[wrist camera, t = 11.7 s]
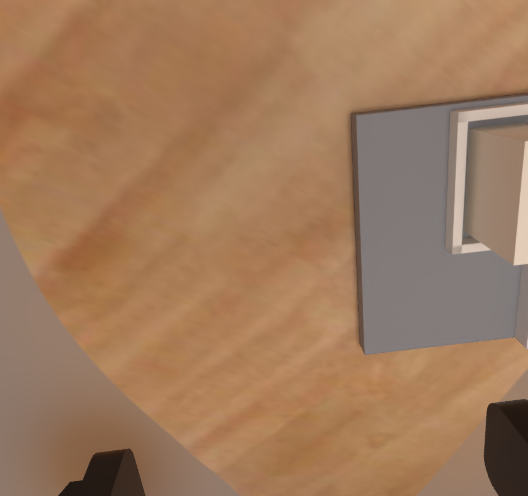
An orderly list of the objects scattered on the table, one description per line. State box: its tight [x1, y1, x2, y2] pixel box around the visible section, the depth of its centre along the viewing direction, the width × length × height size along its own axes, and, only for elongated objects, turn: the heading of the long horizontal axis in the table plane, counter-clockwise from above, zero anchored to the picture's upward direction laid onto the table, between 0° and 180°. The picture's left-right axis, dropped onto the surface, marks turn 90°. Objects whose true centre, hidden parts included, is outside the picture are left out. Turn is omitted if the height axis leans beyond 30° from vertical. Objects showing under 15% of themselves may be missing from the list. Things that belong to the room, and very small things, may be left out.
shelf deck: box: [351, 93, 528, 355], centre depth 41 cm, size 23×16×4 cm
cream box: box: [464, 122, 528, 265], centre depth 35 cm, size 9×5×8 cm, turn 6°
